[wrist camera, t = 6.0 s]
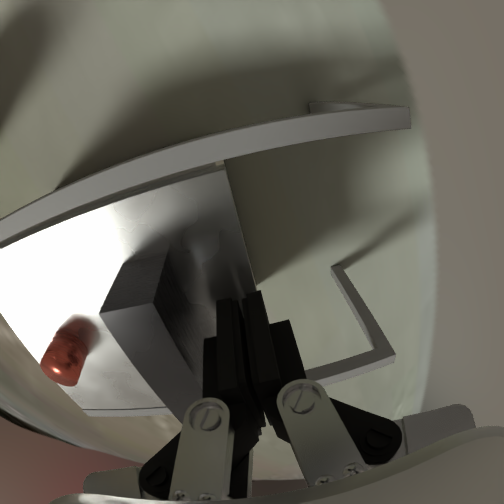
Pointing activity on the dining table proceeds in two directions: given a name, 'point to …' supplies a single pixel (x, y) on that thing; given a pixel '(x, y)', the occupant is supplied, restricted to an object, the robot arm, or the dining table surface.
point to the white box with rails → (212, 154)
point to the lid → (129, 291)
